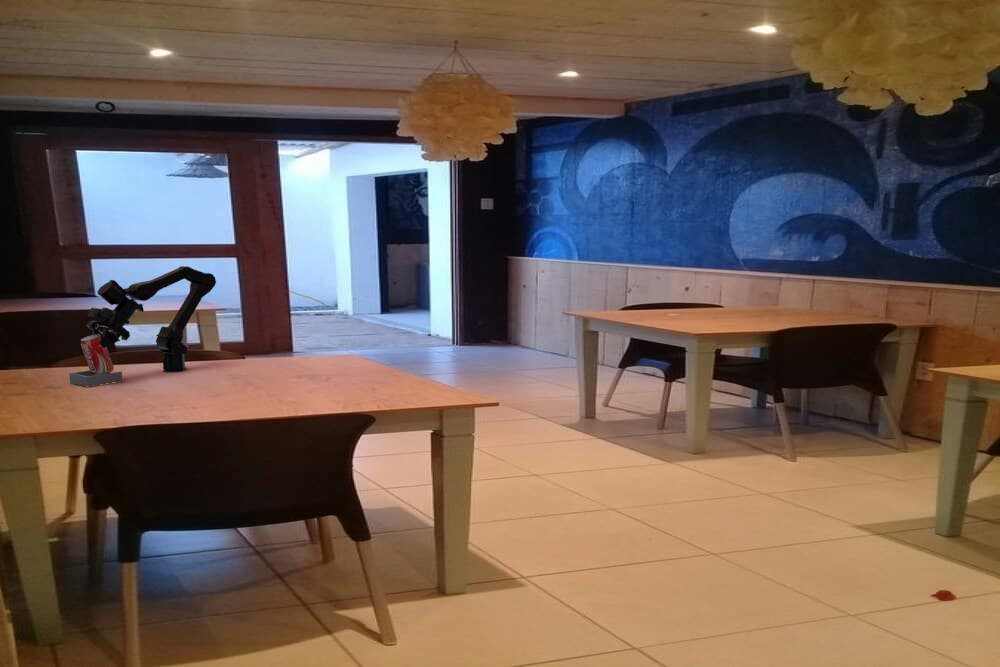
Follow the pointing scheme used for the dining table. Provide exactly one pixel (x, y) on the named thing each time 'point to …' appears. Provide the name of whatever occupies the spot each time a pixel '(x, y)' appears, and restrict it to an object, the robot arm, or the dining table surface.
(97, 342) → the soda can
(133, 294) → the robot arm
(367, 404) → the dining table surface
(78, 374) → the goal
